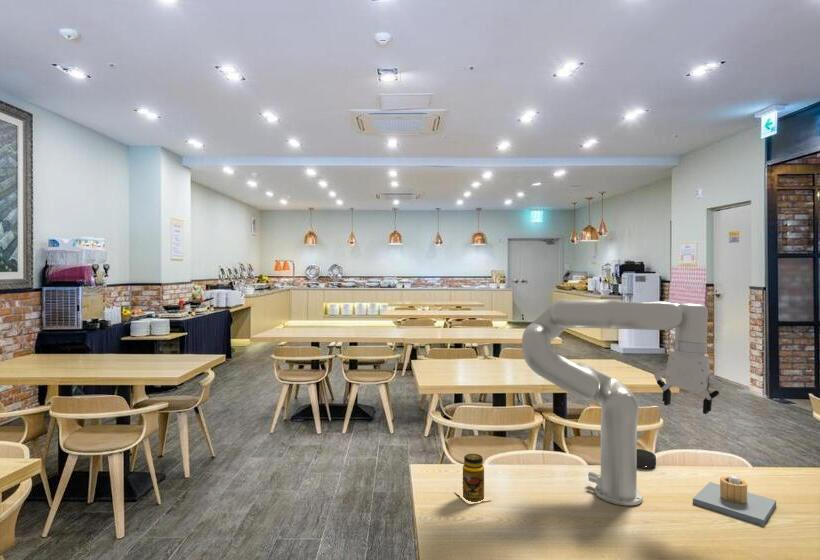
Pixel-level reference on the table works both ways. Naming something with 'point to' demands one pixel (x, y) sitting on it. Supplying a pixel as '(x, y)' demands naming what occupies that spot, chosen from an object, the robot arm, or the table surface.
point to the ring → (733, 491)
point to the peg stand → (752, 511)
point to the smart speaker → (645, 459)
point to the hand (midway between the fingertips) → (685, 408)
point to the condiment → (473, 478)
